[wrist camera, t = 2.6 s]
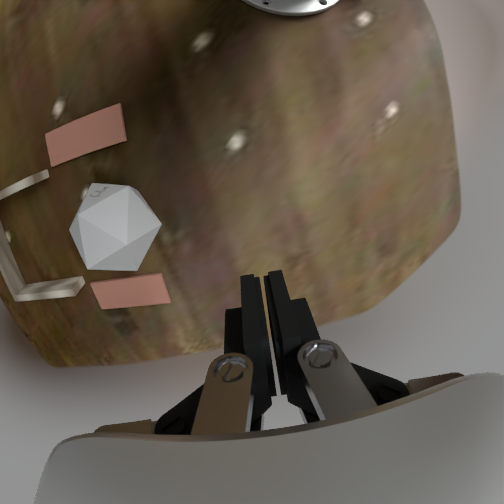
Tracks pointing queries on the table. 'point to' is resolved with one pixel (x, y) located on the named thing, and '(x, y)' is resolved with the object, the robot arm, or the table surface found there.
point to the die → (114, 228)
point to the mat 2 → (131, 291)
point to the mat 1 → (86, 135)
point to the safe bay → (5, 262)
